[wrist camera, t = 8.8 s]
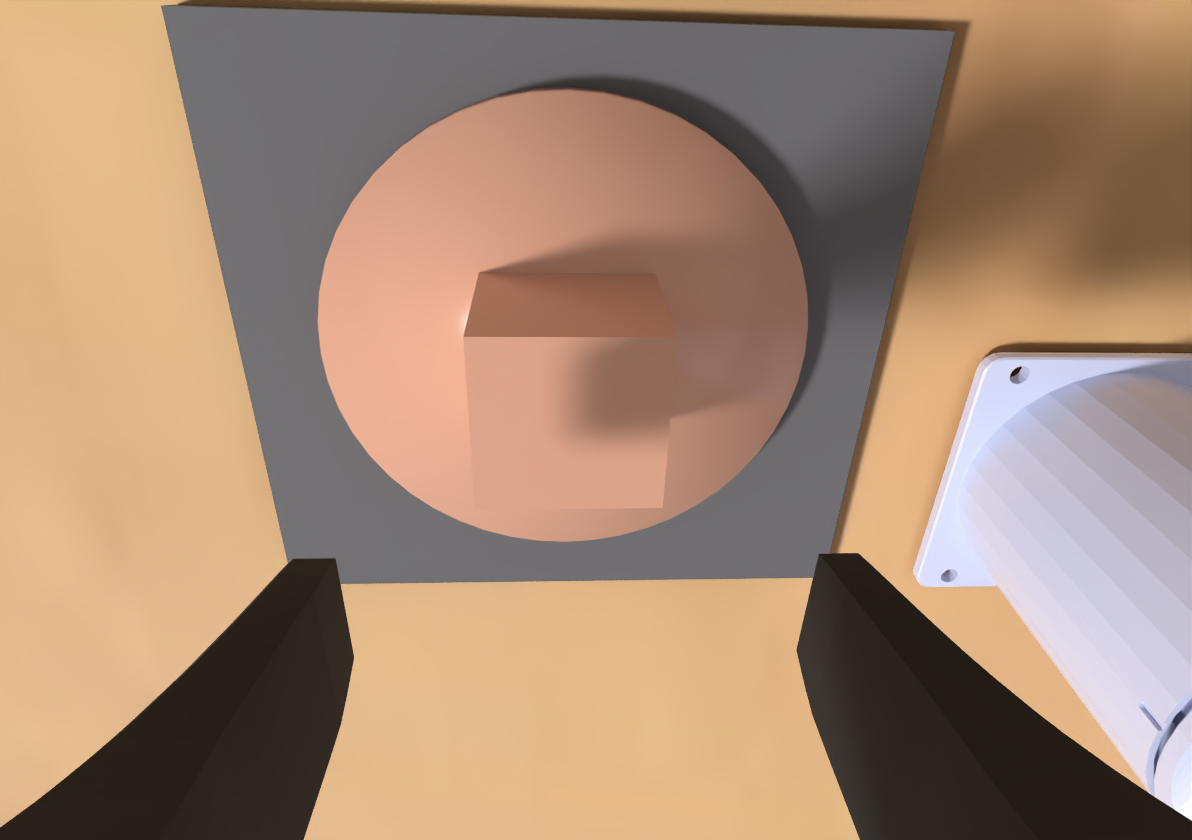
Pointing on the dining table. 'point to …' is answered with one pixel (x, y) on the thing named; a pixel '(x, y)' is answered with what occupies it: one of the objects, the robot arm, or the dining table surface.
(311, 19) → the mat
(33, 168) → the dining table surface
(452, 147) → the lid
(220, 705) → the robot arm
